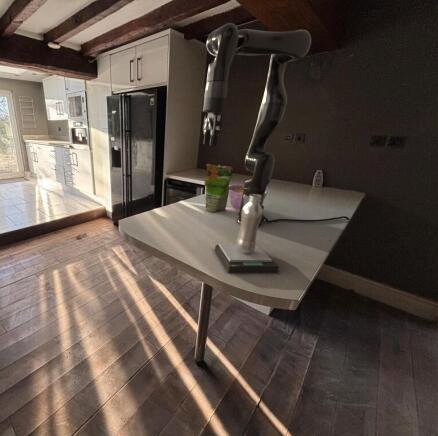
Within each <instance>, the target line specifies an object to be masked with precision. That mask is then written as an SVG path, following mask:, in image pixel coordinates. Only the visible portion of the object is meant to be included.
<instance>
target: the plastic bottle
mask: <svg viewBox="0 0 438 436" xmlns="http://www.w3.org/2000/svg"><path fill="white" fill-rule="evenodd" d="M261 198H262V196H261V195H258V194H250V195H249V199H248V201H249V202H248V203H247V204H246V205H245V206H244V207H243V209H242V216H241V224H240V228H239V231H238V235H237V237H236V240H235V242H234V244H235V246H236V249H237V250H238V251H240V252H242V253H252V252H253V251H254V249H255V247H256V244H257V234H258V233H257V232H258V229H259V226H260V225H259V223H260V220H261V218H262V215H263V216H264V209H262V207H261V205H260V202H261ZM260 224H261V223H260Z"/></svg>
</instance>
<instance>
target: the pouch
mask: <svg viewBox="0 0 438 436" xmlns="http://www.w3.org/2000/svg"><path fill="white" fill-rule="evenodd" d="M205 166H206V168H207V169H206V170H207V174H205V176H206V179H205V180H204V186H205V206H204V207H205V210H206V211H207V212H211V213H215V212H217V211H226V209H227V205H228V204H227V203H228V201H229V196H228V194H229V186H230V183H231V179H232V177H233V174H234V167H233V166H231V165H221V164H218V165H216V164H211V163H206V165H205Z"/></svg>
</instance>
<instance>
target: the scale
mask: <svg viewBox="0 0 438 436" xmlns="http://www.w3.org/2000/svg"><path fill="white" fill-rule="evenodd" d="M214 247H215V248H214V251H215V253H216V255H217V257H218V258H219V260H220V261H221V262H222V264H223V266H224V268H225V270H226V272H227V273H229V274H247V273H249V274H253V273H254V274H255V273H256V274H259V273H260V274H262V273H263V274H266V273H267V274H273V273H274V274H275V273H276V274H278V272H279V268H280V266H279V264H278V263H276V262H275V261H274V259H273V258H272V257H271V256H270V255H268V253H267V252H266V251H264V249H263V248H262V247H261V246H260V245H259V244H258V243H256V247H255V249H254V251H253V252H252V253H242V252H240V251H238V250H237V249H236V246H235V243H218V244H215V246H214Z"/></svg>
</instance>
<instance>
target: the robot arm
mask: <svg viewBox="0 0 438 436" xmlns="http://www.w3.org/2000/svg"><path fill="white" fill-rule="evenodd" d="M205 45H206V49H207V51H208V53H209V54H210V55H212V56H214V57H215V58H214V60H213V61H212V62H211V63H210V64H208V69H207V75H206V76H207V77H206V84H205V89H204V97H203V107H202V112H203V113H207V115H205V116H204V119H203V127H202V132H203V135H204V136H203V137H204V138H203V145H204V146H210V147H211V148H212V147H213V148H215V147H217V145H218V137H219V135H221V133H222V125H223V114H222V113H225V112H226V105H227V98H228V97H227V96H228V91H229V90H228V87H229V84H228V83H229V77H230V68H231V65H232V64H233V61H234V57H235V55H238V56H247V57H254V56H266V55H270V62H269V69H268V73H267V80H266V83H265V89H264V93H263V95H262V96H263V97H262V101H261V105H260V107H259V110H258V111H259V112H258V117H257V120H256V125H255V127H254V132H253V135H252V139H251V141H250V144H249V148H248V150H247V152H246V155H245V159H244V167H245V169H246V170H247V171H248V172H251V173H253V174H252V177H251V178H250V179H247V180H245V181H244V184H243V185H244V189H243V195H242V200H241V205H240V211H238V213H237V214H238V215H237V220H236V221H237V223H238V224H239V225H241V216H242V209H243V207H244V206H245V205H246V204H247V203H248V202H249V201H248V199H249V195H250V194H258V195H261V196H262V198H261V202H260V205H261V207H262V209H263V210H264V209H265V206H264V205H263V203H264V201H265V199H264V196H265V191H267V187H268V185H269V184H270V182H271V179H272V175H273V172H274V169H275V162H276V159H275V156H274V154H273V153H271V152H267V151H265V149H266V146H267V143H268V140H269V139H270V137H271V135H272V134H273V133H274V132H275V130H276V129H277V128H278V127H279V125H280V123H281V122H282V120H283V118H284V115H285V112H286V108H287V104H288V94H287V90H286V87H285V86H286V85H285V82H284V78H285V77H284V75H285V71H286V67H287V64H288V63H292V62H295V61H296V62H297V61H298V60H300V59H302V58H304V57H305V56H306V55H307V54H308V52H309V51H310V49H311V45H312V36H311V34H310V32H309V31H308V30H306V29H296V30H290V31H268V30H267V31H265V30H258V29H252V28H251V29H249V28H242V29H239V30H238V27H237V25H236V24H235V23H232V22H229V23H225V24H224V25H222V26H220V27H218V28H216V29H214V30H213V31H211V33H210V34H209V35H208V37H207V39H206V44H205ZM220 113H221V114H220ZM263 200H264V201H263ZM340 219H346V220H350V218H349V217H348V216H346V215H342V216H337V217H336V216H335V217H329V218H322V219H293V218H275V219H272V220H269V219H268V217H266V216H265V215H264V214H263V215H262V218H261V220H260V223H259V226H261V223H275V222H280V221H281V222H283V221H284V222H302V223H303V222H304V223H305V222H306V223H307V222H308V223H309V222H310V223H312V222H315V223H316V222H328V221H333V220H334V221H335V220H340Z"/></svg>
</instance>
